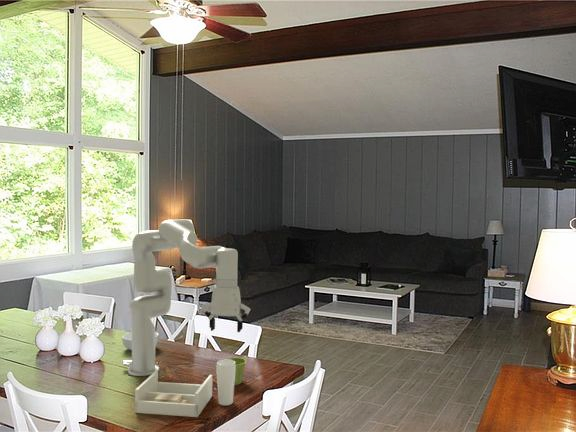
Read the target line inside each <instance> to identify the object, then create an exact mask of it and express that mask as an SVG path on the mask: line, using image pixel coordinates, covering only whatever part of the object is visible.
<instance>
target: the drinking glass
mask: <svg viewBox="0 0 576 432" xmlns="http://www.w3.org/2000/svg"><path fill="white" fill-rule="evenodd" d="M235 373H236V365H235V361H233V360H228V359H227V358H225V359H219V360H218V361H217V362H216V384H217V386H216V387H217V397H218V398H217V400H218V401H217V402H218V404H219V405H220V406H225V407H226V406H231V405H233V403H234V392H235V385H234V384H235Z"/></svg>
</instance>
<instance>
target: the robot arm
mask: <svg viewBox="0 0 576 432" xmlns="http://www.w3.org/2000/svg"><path fill="white" fill-rule="evenodd" d="M197 243H198V236H197V234H196V232H195V227H194V224H193V223H192V222H191V221H190V220H189V219H185V218H184V219H183V218H181V219H180V218H178V219H166V220H164V221H162V222H161V223H160V224H159V225H158V227H157V229H156V230H155V229H153V230H152V229H151V230H145V231H141V232H138V233H137V234H135V236H134V237H133V240H132V246H131V247H132V248H131V249H132V253H133V259H134V260H133V288H134V290H135V292H136V293H138V294H148V295H140V296H137V297H135V298H133V299H132V300H131V301H130V303H129V305H128V308H129V309H128V310H129V315H130V316H129V317H130V322H131V332H132V350H131V360H129V359H127V360H126V359H124V360H122V367H127V368H128V369H127V373H128V374H129V375H130V376H134V377H147V376H148V377H149V376H151V375H152V374H153V373H154V372H155V371H158V372H160V366H159V365H156V345H155V332H156V327H155V324H154V323H153V321H152V320H151V319H153V318H158V317H161V316H162V317H163V316H165V315H167V314H168V313H169V312H170V310H171V305H172V278H171V275H170V273H169V271H168V270H167V269H165V268H163V267H158V268H156V258H155V255H154V254H153V252H161V251H171V250H174V249H178V251H179V256H180V257H181V259H182V260H183V261H184V262H185V263H187V264H188V265H190V267H191V266H192V267H193V268H196V269H205V268H206V269H208V268H215V267H216V268H215V272H216V274H215V275H216V276H215V278H214V279H212V281H211V283H212V284H215V286H213V289H212V293H211V294H212V295H211V302H209V303H207V304H205V305H202V311H203V312H204V315H205V316H206V318H208V320H209V328H210V331H211V332H213V331H214V330H215V329H216V318H215V316H217V317H218V316H219V317H220V316H221V317H236V318H237V327H236V329H237V331H236V332H237V333H240V332H241V331H242V330H243V324H244V322H243V320H244V319H246V318H247V316H248V315H249V313H250V311H251V308H250V307H248V306H247V305H245V304H244V303H242V302H241V301H242V300H241V293H240V292H241V291H240V287H239V286H238V272H239V271H238V266H239V265H238V262H239V260H238V259H239V258H238V257H239V255H238V254H239V253H238V250H237V249H235V248H230V247H228V248H227V247H224V246H221V245H210V246H201V247H199V246H196V245H197ZM149 293H153V294H149ZM209 308H210V311H209ZM242 310H244V311H245V312H244V313H243V314H242V313H241V311H242Z"/></svg>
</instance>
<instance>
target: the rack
mask: <svg viewBox="0 0 576 432" xmlns="http://www.w3.org/2000/svg"><path fill="white" fill-rule="evenodd" d="M207 376H208V377H206V379H205V380H204V381H203V382H202V384H199V383H198V384H197V383H185V382H183V383H181V382H165V381H159V371H155V372H154V373H153V374H152V375H149V376H148V377H147V378H146V379H145V380H144V381H142V383H141V384H140V385H138V386H137V387H136V388H135V389H134V392H135V393H134V413H135V414H137V413H138V414H148V415H149V414H150V415H162V416H174V417H175V416H176V417H177V416H179V417H190V418H191V417H192V418H198V417H199V415H200V414H201V413H202V412H203V410H204V408H205V407H206V405H207V404H208V403H209V401H210V400H211V398H212V397H213V374H209V375H207ZM160 393H162V394H176V395H182V399H184V400H187V403H172V402H157V401H155V398H156V397H157V396H158V395H159V394H160Z"/></svg>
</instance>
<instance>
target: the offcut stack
mask: <svg viewBox="0 0 576 432" xmlns="http://www.w3.org/2000/svg"><path fill="white" fill-rule="evenodd" d="M155 401H157V402H172V403H187V400H184V399H182V395H176V394H162V393H160V394H159V395H158V396H157V397H156V398H155Z"/></svg>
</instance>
